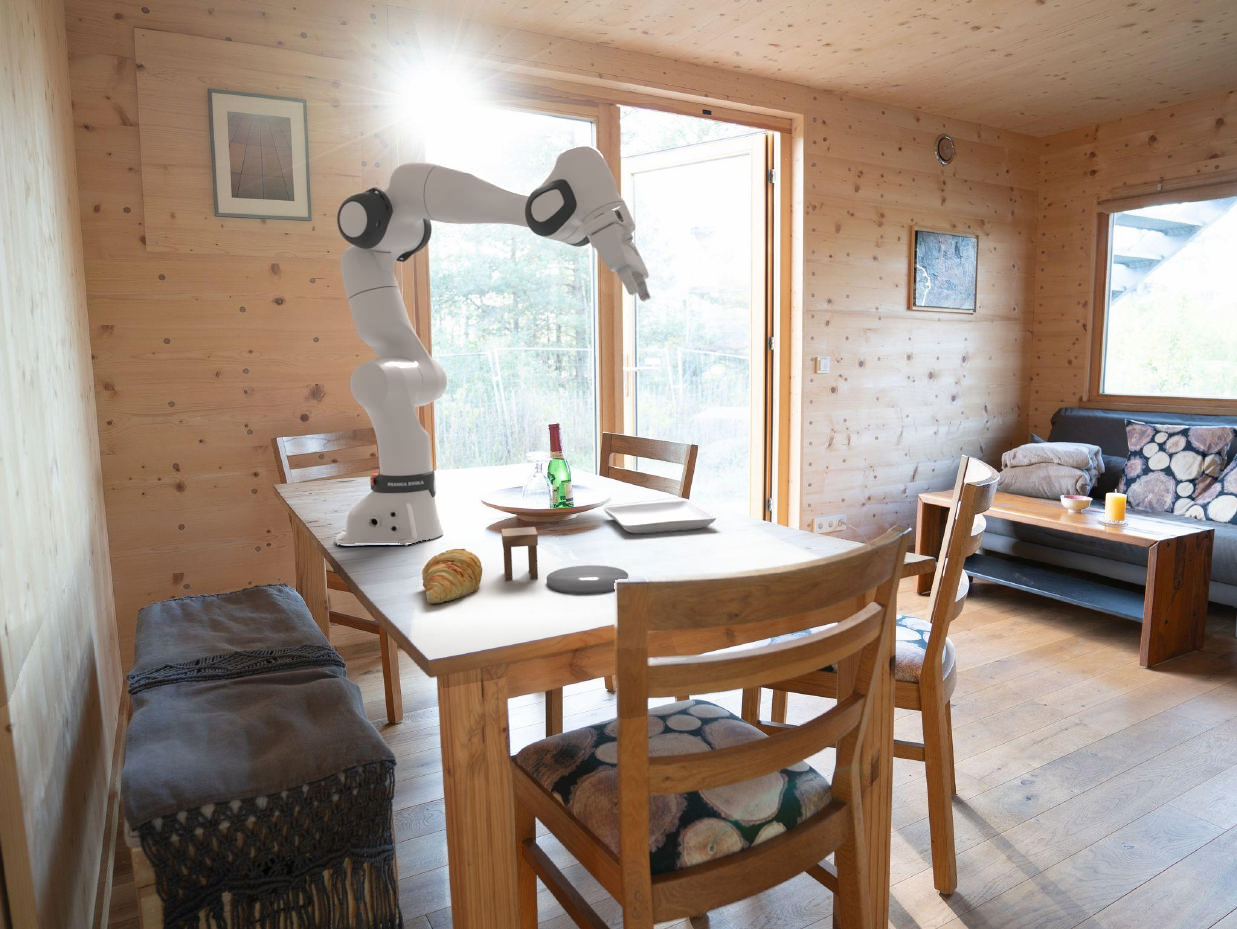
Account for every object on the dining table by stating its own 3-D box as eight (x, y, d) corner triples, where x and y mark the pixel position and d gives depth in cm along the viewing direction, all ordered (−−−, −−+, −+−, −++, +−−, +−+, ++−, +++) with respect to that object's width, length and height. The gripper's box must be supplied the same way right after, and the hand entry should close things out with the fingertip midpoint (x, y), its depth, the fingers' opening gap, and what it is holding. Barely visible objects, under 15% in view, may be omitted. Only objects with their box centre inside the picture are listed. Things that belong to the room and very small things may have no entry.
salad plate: (624, 539, 171) (623, 523, 170) (602, 519, 191) (602, 505, 191) (718, 532, 176) (718, 516, 175) (687, 513, 196) (687, 499, 196)
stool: (504, 581, 140) (502, 536, 139) (503, 572, 146) (501, 528, 145) (539, 578, 141) (537, 534, 140) (536, 569, 147) (534, 526, 146)
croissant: (451, 630, 127) (472, 586, 125) (394, 601, 127) (414, 557, 125) (485, 587, 147) (504, 550, 146) (436, 563, 147) (454, 525, 146)
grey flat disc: (550, 596, 131) (550, 590, 131) (543, 573, 144) (543, 568, 144) (635, 590, 133) (635, 584, 133) (620, 568, 147) (620, 563, 147)
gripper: (610, 247, 160) (638, 310, 159) (579, 225, 140) (611, 298, 139) (638, 231, 158) (667, 296, 157) (611, 208, 138) (643, 281, 138)
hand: (640, 296), depth 148 cm, fingers open, 8 cm apart
